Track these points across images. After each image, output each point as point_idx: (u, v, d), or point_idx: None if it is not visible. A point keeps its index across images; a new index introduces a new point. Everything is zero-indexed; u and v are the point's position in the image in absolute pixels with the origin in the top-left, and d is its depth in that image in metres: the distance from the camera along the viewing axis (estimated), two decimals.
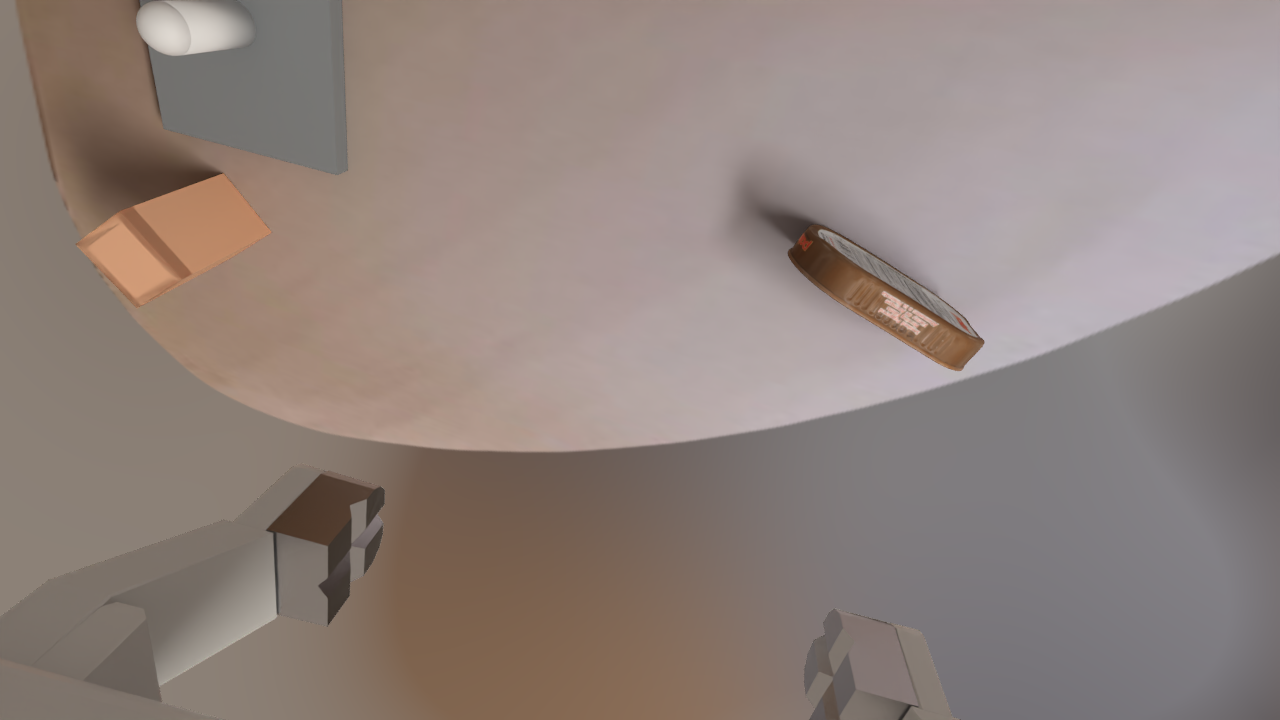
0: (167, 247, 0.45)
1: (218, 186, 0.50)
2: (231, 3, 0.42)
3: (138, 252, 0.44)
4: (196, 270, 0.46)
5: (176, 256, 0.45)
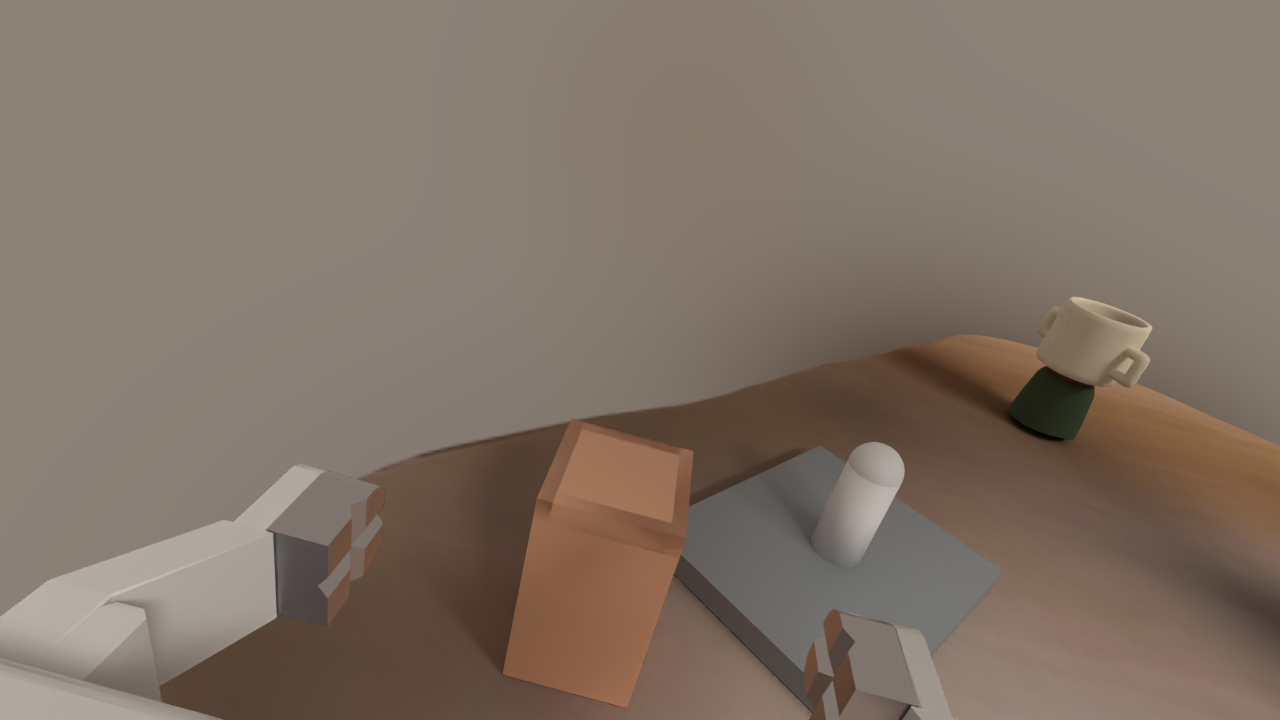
0: None
1: None
2: None
3: (657, 479, 0.25)
4: (676, 565, 0.23)
5: None
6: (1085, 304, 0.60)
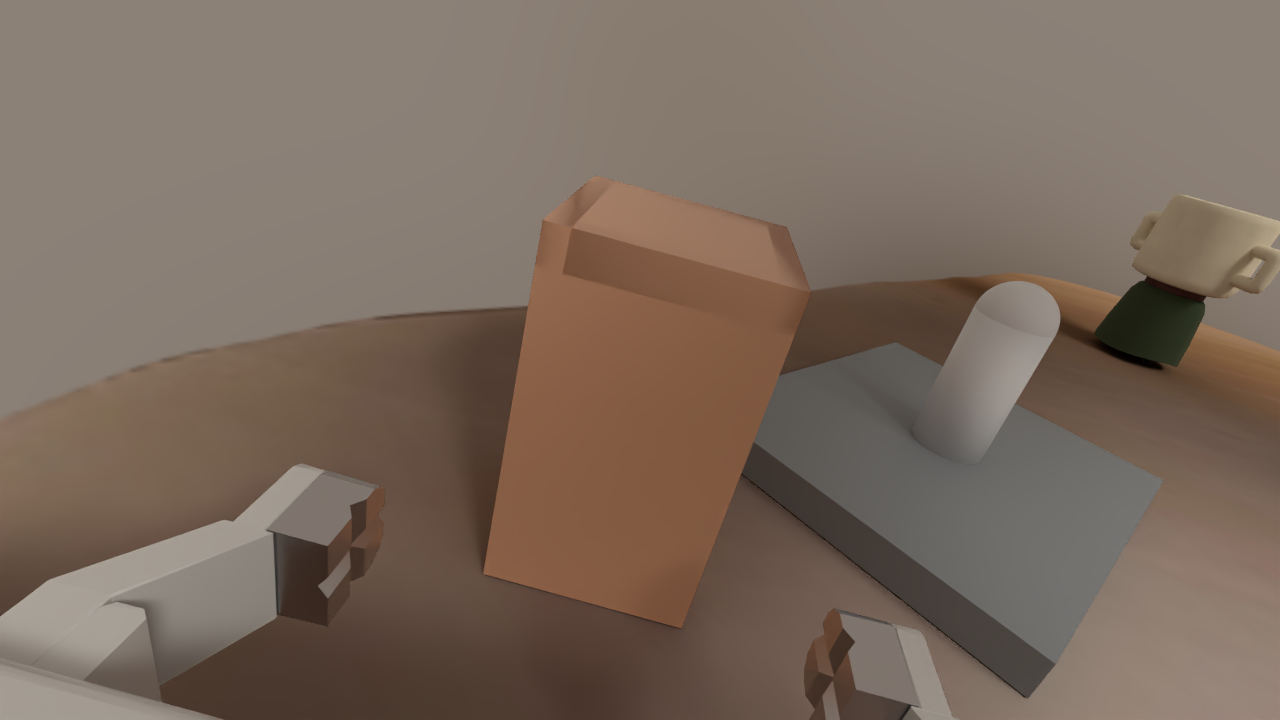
0: None
1: None
2: None
3: (741, 237, 0.15)
4: (786, 354, 0.13)
5: None
6: None
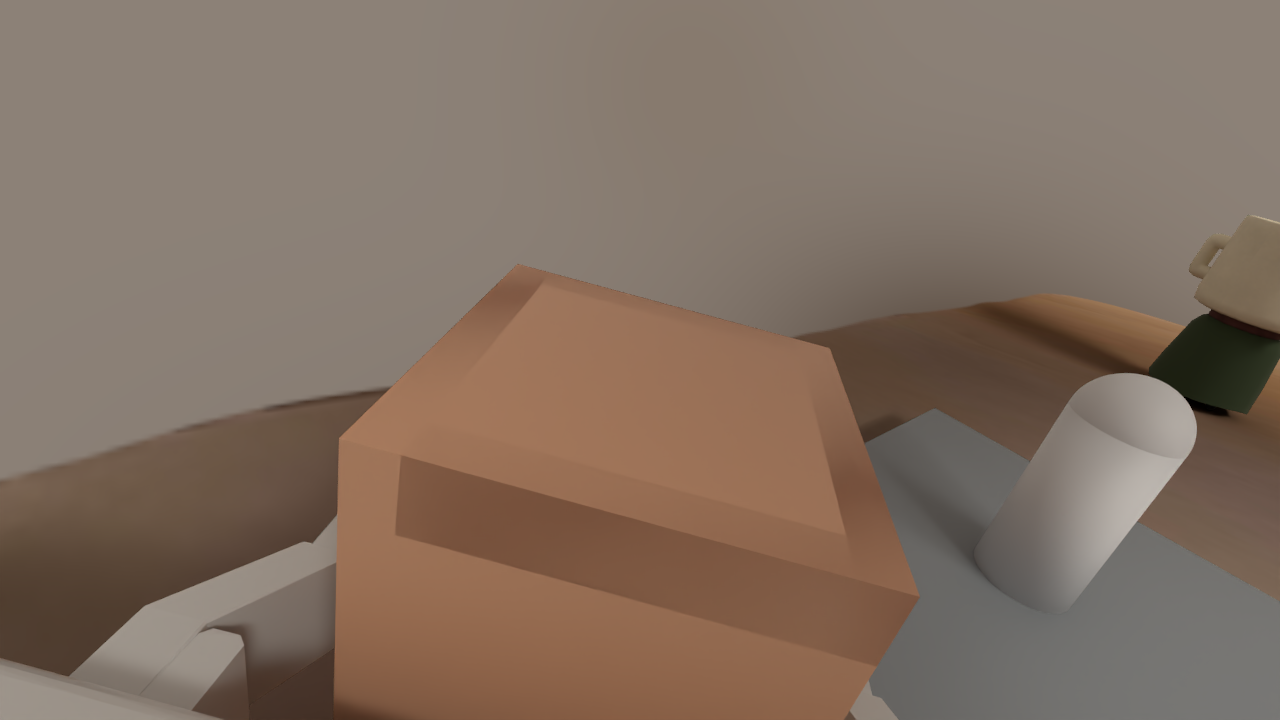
0: None
1: None
2: None
3: (759, 402, 0.08)
4: (856, 688, 0.07)
5: None
6: None
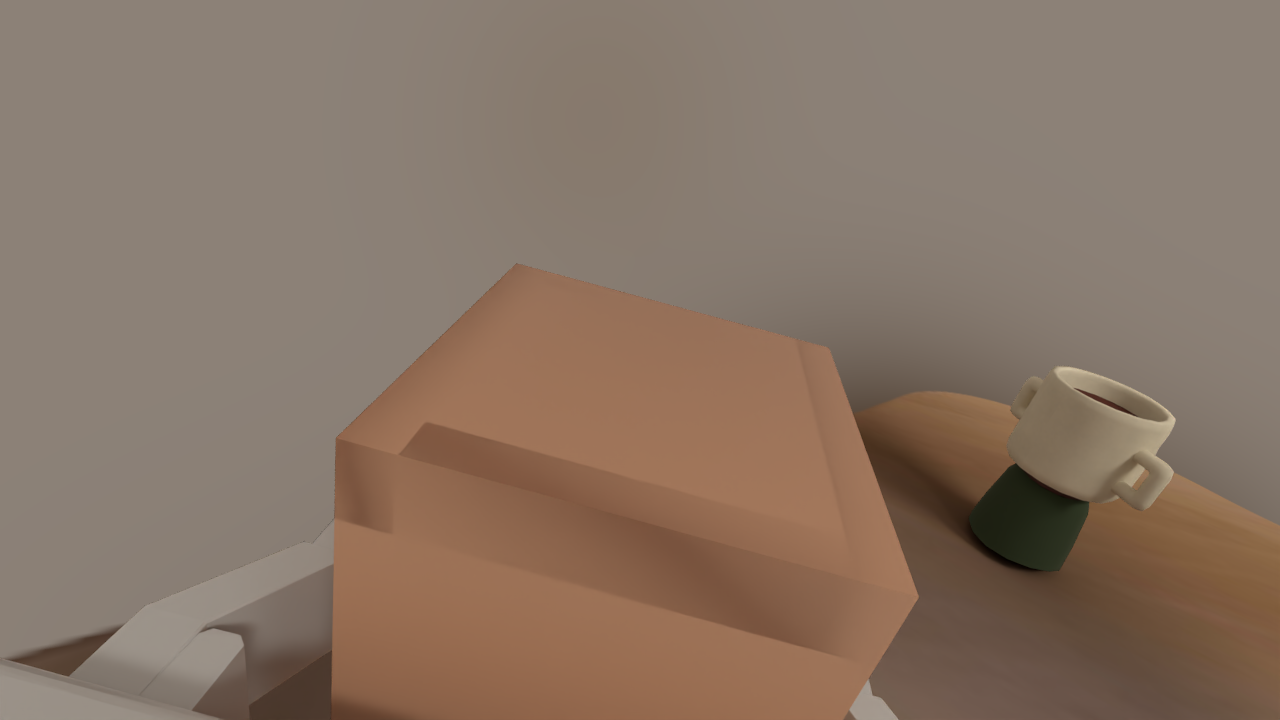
0: None
1: None
2: None
3: (757, 402, 0.08)
4: (855, 688, 0.07)
5: None
6: (1076, 377, 0.42)
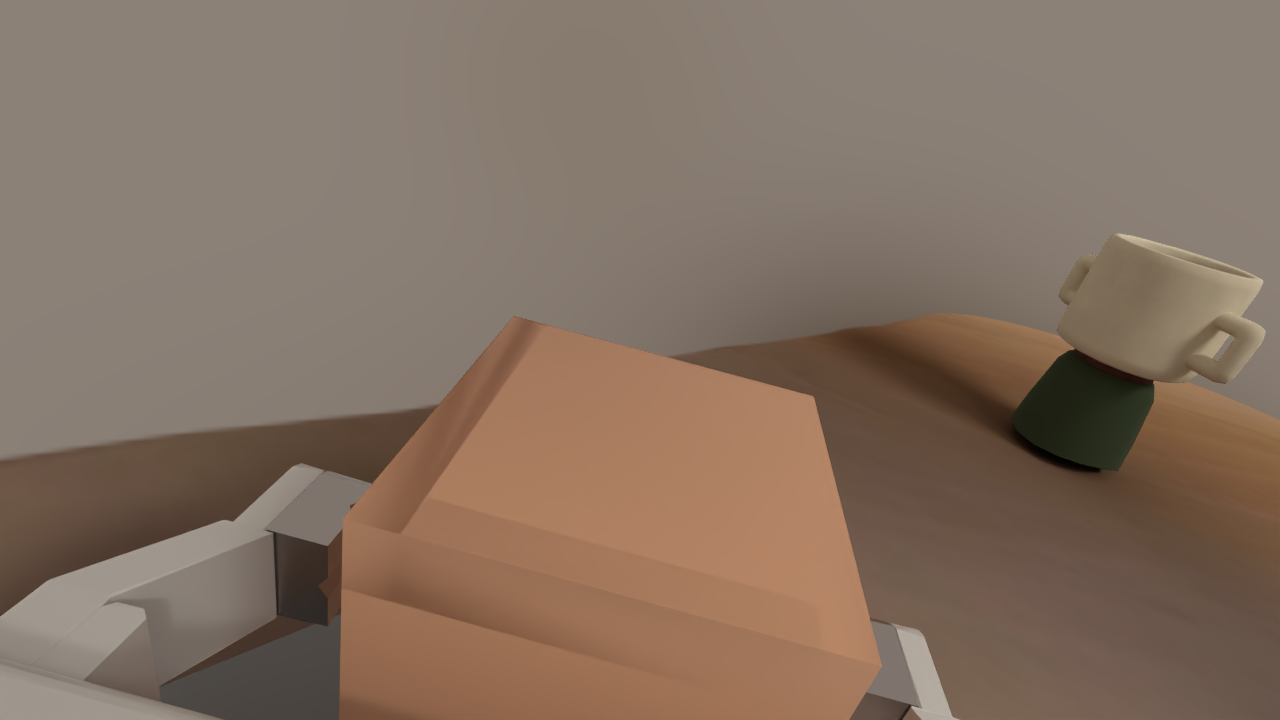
0: None
1: None
2: None
3: (741, 461, 0.09)
4: None
5: None
6: None
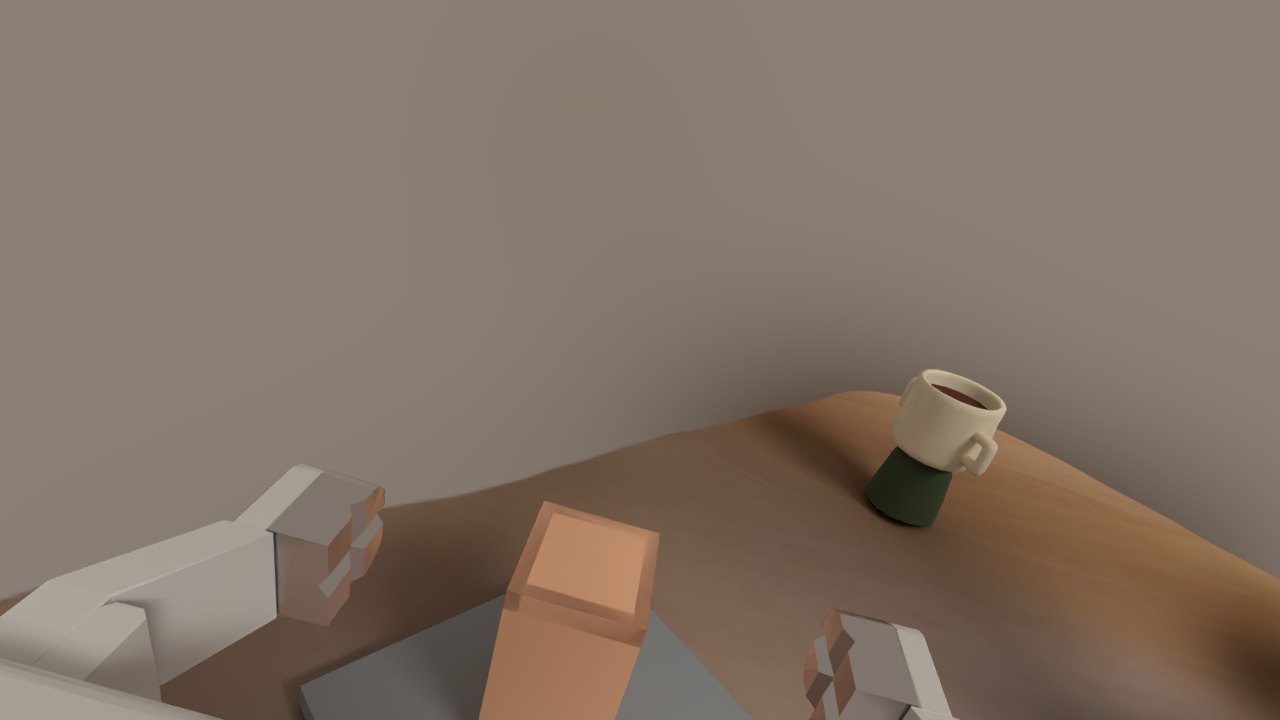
0: None
1: None
2: None
3: (623, 566, 0.27)
4: None
5: None
6: (943, 377, 0.55)
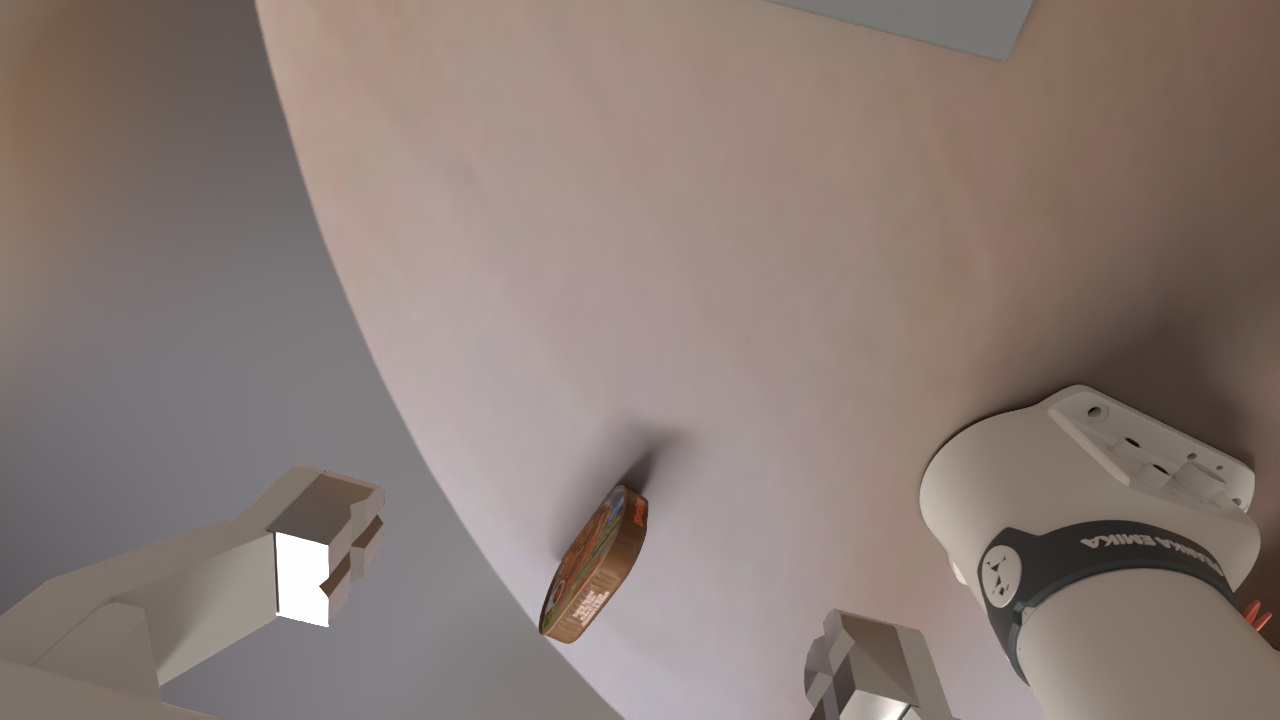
0: None
1: None
2: None
3: None
4: None
5: None
6: None
